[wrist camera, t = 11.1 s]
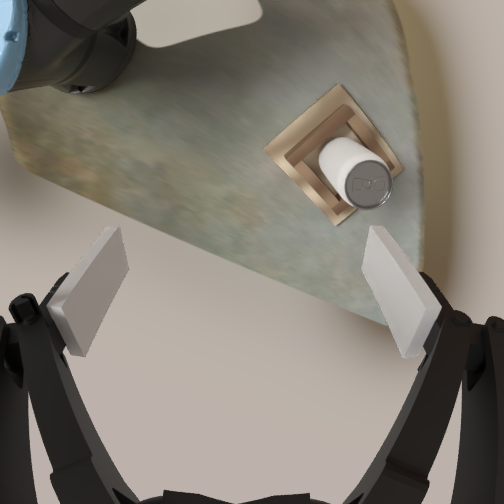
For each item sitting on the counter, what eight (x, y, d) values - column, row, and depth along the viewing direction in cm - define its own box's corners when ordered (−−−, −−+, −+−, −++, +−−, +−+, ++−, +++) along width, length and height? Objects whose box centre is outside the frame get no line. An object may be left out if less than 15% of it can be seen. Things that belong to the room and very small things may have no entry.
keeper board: (262, 148, 41) (263, 153, 38) (337, 83, 36) (344, 83, 33) (334, 223, 47) (339, 233, 44) (401, 167, 42) (411, 174, 39)
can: (360, 180, 42) (393, 213, 32) (317, 180, 42) (339, 214, 32) (362, 136, 39) (399, 157, 28) (317, 135, 39) (341, 155, 29)
